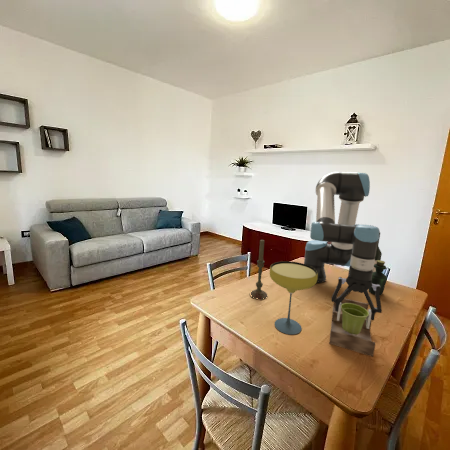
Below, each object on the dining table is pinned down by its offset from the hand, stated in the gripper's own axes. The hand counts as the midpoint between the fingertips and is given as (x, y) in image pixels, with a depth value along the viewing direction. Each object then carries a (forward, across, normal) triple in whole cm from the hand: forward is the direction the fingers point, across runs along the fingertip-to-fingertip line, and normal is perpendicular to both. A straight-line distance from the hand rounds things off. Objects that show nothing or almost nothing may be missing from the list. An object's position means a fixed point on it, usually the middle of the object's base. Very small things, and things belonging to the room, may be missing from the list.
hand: (352, 322), depth 92 cm
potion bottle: (+7, +13, +49) cm, 51 cm away
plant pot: (+3, 0, 0) cm, 3 cm away
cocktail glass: (+7, -23, -5) cm, 24 cm away
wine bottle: (+7, +12, +72) cm, 74 cm away
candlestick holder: (+7, -42, +14) cm, 45 cm away
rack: (+6, 0, +7) cm, 10 cm away
